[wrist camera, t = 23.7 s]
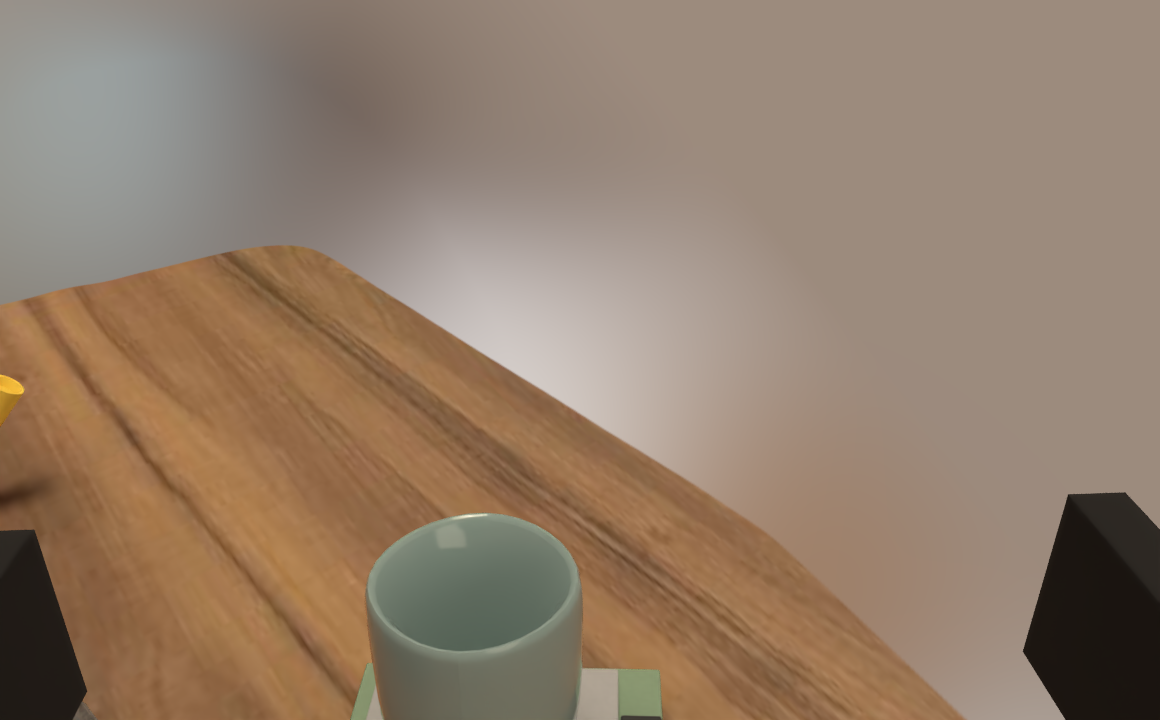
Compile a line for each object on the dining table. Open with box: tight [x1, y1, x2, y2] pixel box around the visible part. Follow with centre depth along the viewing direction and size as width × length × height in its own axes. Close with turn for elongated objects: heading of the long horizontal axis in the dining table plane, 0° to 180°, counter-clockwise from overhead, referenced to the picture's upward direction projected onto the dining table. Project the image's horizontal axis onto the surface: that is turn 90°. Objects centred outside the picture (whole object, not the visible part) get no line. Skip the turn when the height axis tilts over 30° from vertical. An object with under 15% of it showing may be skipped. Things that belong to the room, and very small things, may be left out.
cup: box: [365, 513, 583, 720], centre depth 38 cm, size 8×8×10 cm
